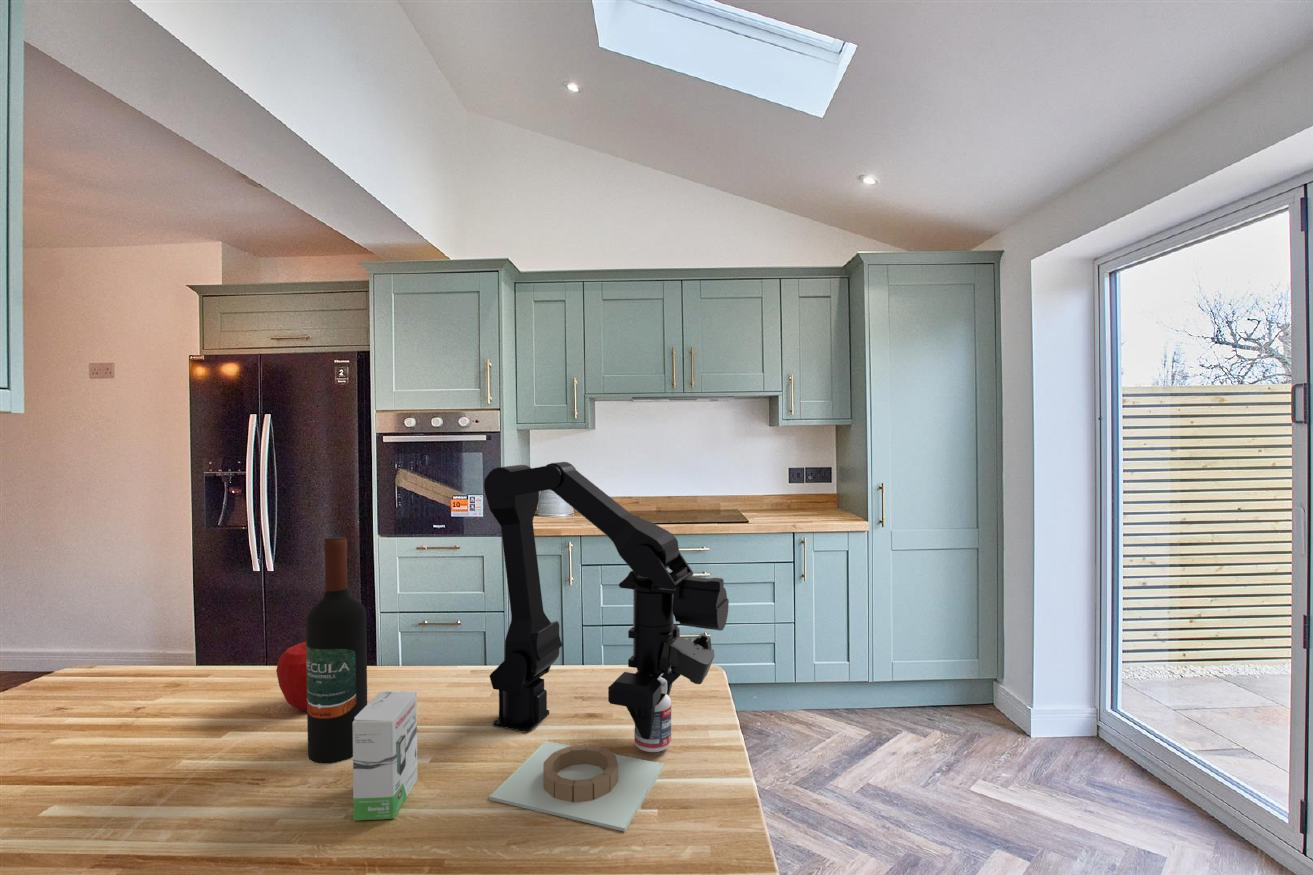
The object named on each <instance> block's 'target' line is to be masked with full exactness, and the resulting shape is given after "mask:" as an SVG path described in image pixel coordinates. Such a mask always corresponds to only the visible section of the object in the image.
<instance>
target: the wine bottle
mask: <svg viewBox="0 0 1313 875" xmlns="http://www.w3.org/2000/svg"><path fill="white" fill-rule="evenodd" d="M347 540H348V539H347V537H346V536H332V537H327V538H324V544H323V551H324V588H325V590H324V594H323V597H322V598H321V599H320V600H319V601H318V602H317V603H316V604H314V605H313V606H312V608H311V609H310V610H309V611H308V614H307V615H306V620H305V642H306V660H307V711H306V714H307V715H306V716H307V717H306V718H307V719H306V720H307V721H306V722H307V757H308V760H309V761H311V762H313V763H316V764H320V765H321V764H335V763H339V762H343V761H347V760H349V759H353V724H352V723H353V721H354V718H355V716H356V715H357V714H358V713H359V712H360V711H361V710H362V709H363V708H364V707H365V706H366V705H367V704H368V659H367V656H368V646H367V643H368V642H367V638H368V637H367V634H368V633H367V612H366V611H367V610H366V607H365V606H364V605H363V604H362V602H360V601H359V600H358V599H357V598H355V597H353V595H350V592H349V590H348V559H347V558H348V556H347V555H348V542H347Z"/></svg>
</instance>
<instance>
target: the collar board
mask: <svg viewBox="0 0 1313 875" xmlns="http://www.w3.org/2000/svg"><path fill="white" fill-rule="evenodd" d="M664 768H665V763H661V762H656V761H651V760H645V759H642V758H641V759H640V758H635V757H631V756H625V755H620V754H616V753H615V754H614V753H613V752H612V751H610V750H608V749H607V748H606V747H602V746H597V745H592V744H579V745H568V744H563V743H557V742H553V741H547V740H545V741H544V742H543V743H542V744H540V746H539V747H538V748H537V749H536V750H535V751H534V752H533V753H532V754H531V755H530V756H529V757H528V758H527V759H526V760H525V761H524V762H522V764H521V765H520V766H519V767H517V768H516V769H515V770H514V772H512V773H511V774H510V776H509V777H508V778H507V779H505V780H504V781H503V782H502V784H501V783H500V785H499V786H498V787H497V788H496V789H495V790H494V791H493V792H492V793H491V794H490V795H489V796H488V797H489V798H488V799H489V800H490V801H493V802H496V803H502V804H504V805H505V804H506V805H510V806H515V807H518V808H524V809H527V810H532V811H535V812H540V813H543V814H549V815H552V816H557V817H561V818H565V819H569V820H574V821H578V822H582V823H586V824H590V825H595V826H599V827H604V828H608V829H612V830H616V831H620V832H626V831H627V829H628V827H629V826H630V824H631V822H632V821H633V819H634V818H635V816H636V814H637V812H638V811H639V809H640V808H641V806H642V804H643V803H644V801H645V800H646V798H647V796H648V794H649V792H651V789H652V788H653V786H654V784H655V783H656V781H657V780H658V777H659V776H660V775H661V773H662V771H663V769H664Z"/></svg>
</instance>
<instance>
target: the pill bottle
mask: <svg viewBox="0 0 1313 875" xmlns="http://www.w3.org/2000/svg"><path fill="white" fill-rule="evenodd" d="M658 681H660V683H661V693H662V694H666V693H667V681H666V680H665V679H664V678H662V677H660V678H659V680H658ZM633 740H634V745H635V746H636V747H637V749H639V750H641V751H643V752H647V753H658V752H662V751H664V750H666V749H668V748H669V747H670V746H671V743H672V699H671V697H670V695H669V696H668V695H667V694H666V695H665V696H664V698H663V699H662V700H661V702H660V703H659V704H658V705H656V706H655V712H654V718H653V725H652V731H651V736H650V739H649V740H647V739H643V738H642V737H641V735H640V733H639V731H638V729H637V727H636V725H635V724H634V739H633Z"/></svg>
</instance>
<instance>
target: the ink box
mask: <svg viewBox="0 0 1313 875" xmlns="http://www.w3.org/2000/svg"><path fill="white" fill-rule="evenodd" d="M417 699H418V692H417V691H395V690H393V691H387V690H385V691H380V692H378V693H377V694H376V695H375V696H374V698H372V699H371V700H370V701H369V702H367V705H366V706H365V707H364V708H363V709H362V710H361V711H360V712H359V713H358V714H357V715H356V716H355V718H354V721H353V723H352V724H353V757H352V789H353V790H352V796H353V797H352V798H353V799H352V801H353V804H352V805H353V806H352V808H353V810H352V813H353V815H352V816H353V821H371V820H372V821H373V820H374V821H375V820H387V819H388V820H391V819H395V817H396V816H397V814H398V812H399V811H400V809H401V807H402V806H403V803H404V802H406V799H407V798H408V795H410V792H411V791H412V789H413V787H414V786H415V784H416V783H417V780H418V734H417V733H418V710H417V709H418V705H417V704H418V702H417V701H418V700H417Z"/></svg>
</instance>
